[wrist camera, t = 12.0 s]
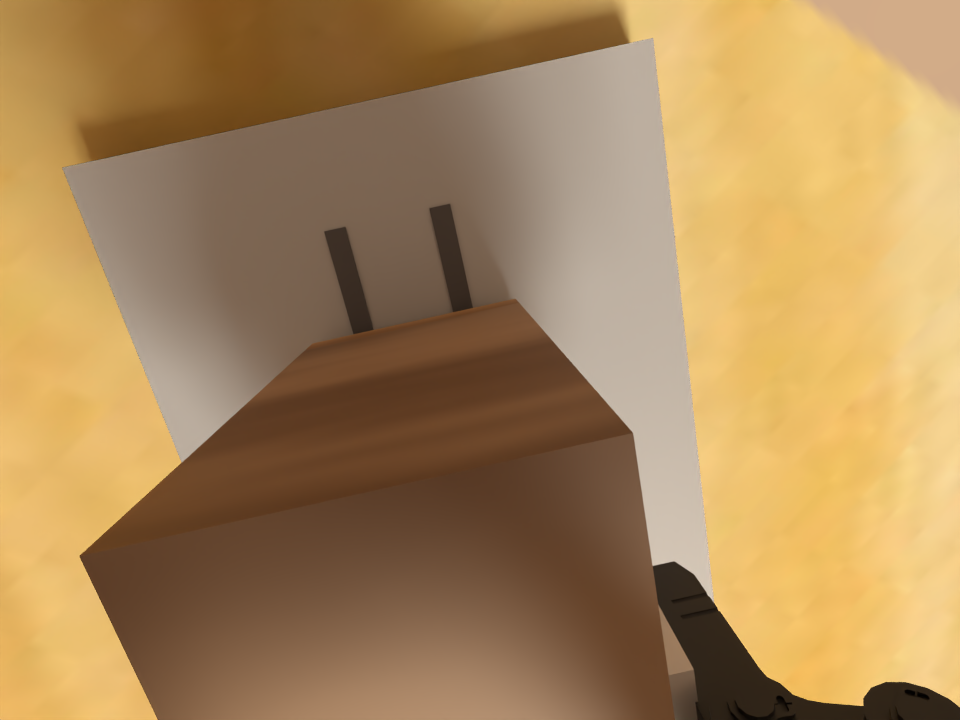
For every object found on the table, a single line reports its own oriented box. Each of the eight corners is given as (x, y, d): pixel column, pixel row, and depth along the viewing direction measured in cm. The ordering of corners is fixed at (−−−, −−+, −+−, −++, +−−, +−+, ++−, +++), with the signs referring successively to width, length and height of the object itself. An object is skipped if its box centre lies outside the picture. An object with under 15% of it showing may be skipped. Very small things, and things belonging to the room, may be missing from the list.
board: (98, 172, 15) (60, 167, 14) (633, 54, 15) (653, 37, 14) (303, 699, 21) (291, 736, 19) (699, 609, 21) (718, 640, 19)
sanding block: (312, 343, 15) (79, 555, 6) (515, 298, 15) (632, 433, 6) (412, 671, 18) (374, 1170, 9) (581, 634, 18) (729, 1090, 9)
